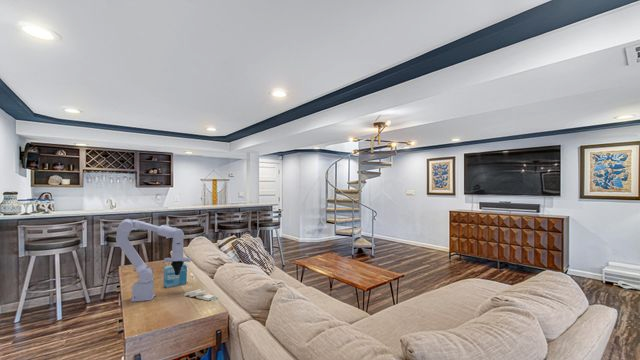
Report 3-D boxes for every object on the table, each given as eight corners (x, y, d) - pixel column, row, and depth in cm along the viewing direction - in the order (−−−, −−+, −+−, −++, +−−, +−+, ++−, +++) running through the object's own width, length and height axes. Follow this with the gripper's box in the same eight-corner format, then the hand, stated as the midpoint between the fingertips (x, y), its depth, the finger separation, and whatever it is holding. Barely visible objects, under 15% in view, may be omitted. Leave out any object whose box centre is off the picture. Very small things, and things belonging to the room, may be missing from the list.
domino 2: (189, 294, 153) (200, 292, 150) (195, 292, 157) (206, 289, 153) (189, 297, 153) (201, 294, 150) (195, 294, 157) (207, 292, 153)
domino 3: (196, 295, 152) (208, 298, 148) (202, 293, 155) (214, 295, 151) (196, 297, 152) (208, 300, 148) (202, 295, 155) (214, 298, 151)
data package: (165, 288, 167) (165, 268, 168) (163, 286, 170) (163, 266, 171) (186, 284, 175) (187, 264, 176) (184, 282, 178) (184, 263, 179)
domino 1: (183, 293, 155) (194, 291, 152) (190, 291, 159) (201, 288, 155) (184, 296, 155) (195, 293, 151) (190, 293, 159) (201, 291, 155)
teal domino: (199, 297, 151) (213, 299, 149) (204, 295, 155) (218, 297, 152) (199, 300, 151) (213, 302, 149) (204, 297, 155) (218, 299, 152)
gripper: (161, 252, 156) (160, 276, 155) (187, 251, 156) (187, 276, 156) (167, 249, 163) (167, 273, 162) (193, 249, 163) (192, 272, 163)
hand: (177, 274), depth 160 cm, fingers closed
